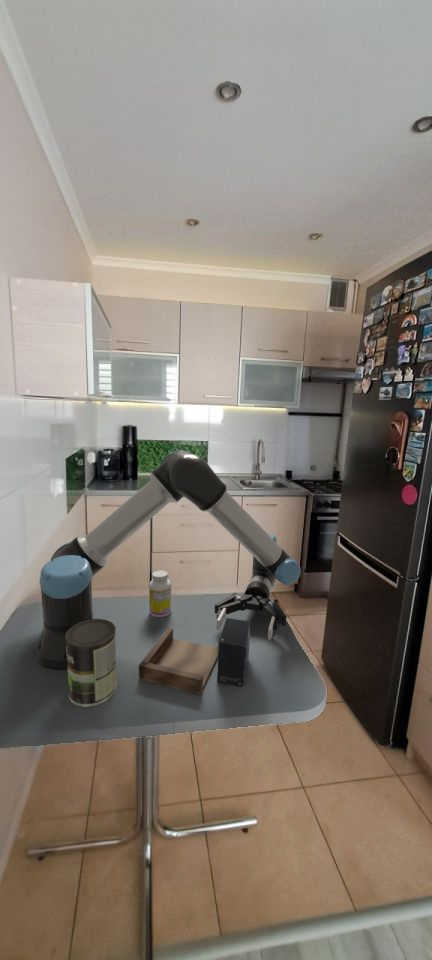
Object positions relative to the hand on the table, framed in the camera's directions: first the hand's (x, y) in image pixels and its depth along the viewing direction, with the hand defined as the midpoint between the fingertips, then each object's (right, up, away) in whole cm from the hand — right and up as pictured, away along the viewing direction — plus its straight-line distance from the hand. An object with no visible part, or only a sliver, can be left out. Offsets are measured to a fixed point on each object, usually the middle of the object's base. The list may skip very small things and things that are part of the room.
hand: (243, 629), depth 94 cm
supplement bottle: (-24, -2, +19) cm, 31 cm away
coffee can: (-34, -8, -13) cm, 38 cm away
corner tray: (-15, -6, -5) cm, 17 cm away
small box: (-3, -7, -6) cm, 10 cm away
